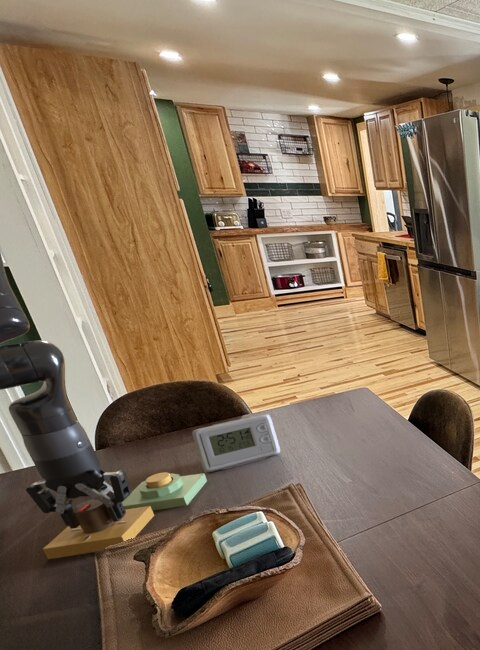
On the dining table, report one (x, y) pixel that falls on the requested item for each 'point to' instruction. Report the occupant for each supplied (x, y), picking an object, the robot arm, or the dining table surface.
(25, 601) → the dining table surface
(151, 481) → the bell button
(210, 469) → the digital clock
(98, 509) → the lock turn
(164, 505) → the block
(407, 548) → the dining table surface
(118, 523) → the lock plate
